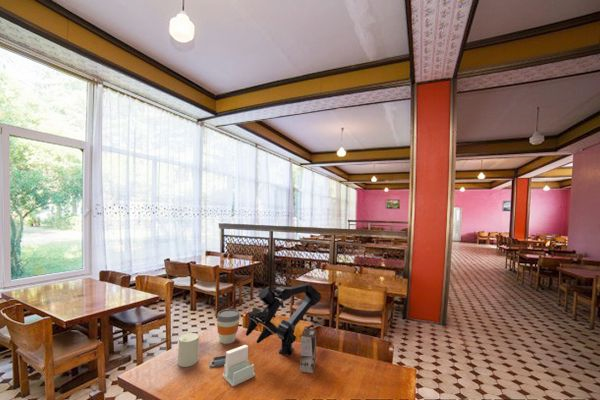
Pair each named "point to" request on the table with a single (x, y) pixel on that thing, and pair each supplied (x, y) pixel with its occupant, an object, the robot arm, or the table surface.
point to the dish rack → (239, 373)
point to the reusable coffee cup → (228, 325)
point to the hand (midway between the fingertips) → (251, 339)
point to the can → (188, 349)
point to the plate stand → (218, 361)
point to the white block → (236, 357)
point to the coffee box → (308, 350)
